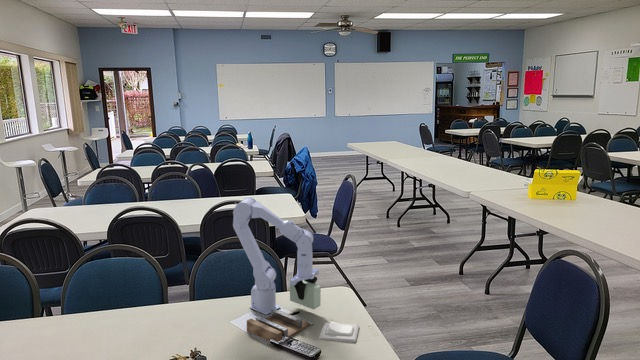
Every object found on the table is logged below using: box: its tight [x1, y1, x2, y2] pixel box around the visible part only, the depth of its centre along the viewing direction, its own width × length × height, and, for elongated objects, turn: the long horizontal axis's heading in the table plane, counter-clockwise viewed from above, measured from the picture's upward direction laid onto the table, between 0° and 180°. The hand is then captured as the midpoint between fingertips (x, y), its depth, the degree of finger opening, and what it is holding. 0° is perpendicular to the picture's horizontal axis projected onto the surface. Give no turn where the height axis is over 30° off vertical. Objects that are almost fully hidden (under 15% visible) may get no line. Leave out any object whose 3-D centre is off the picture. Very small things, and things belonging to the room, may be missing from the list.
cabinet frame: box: [246, 309, 312, 342], centre depth 160 cm, size 15×17×4 cm
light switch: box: [318, 320, 360, 343], centre depth 157 cm, size 11×4×13 cm
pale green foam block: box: [289, 280, 322, 310], centre depth 172 cm, size 5×12×8 cm, turn 51°
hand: (304, 296), depth 172 cm, fingers closed on pale green foam block, 4 cm apart
